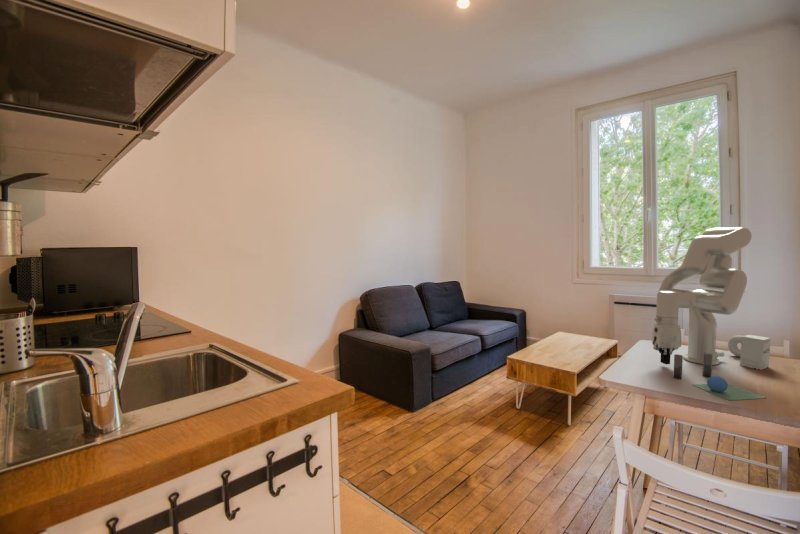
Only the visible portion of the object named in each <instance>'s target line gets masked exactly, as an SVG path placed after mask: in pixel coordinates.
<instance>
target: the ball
mask: <svg viewBox="0 0 800 534" xmlns="http://www.w3.org/2000/svg"><path fill="white" fill-rule="evenodd" d="M727 383H728V382H727V380H726V379H725V378H723V377H722V376H720V375H713V376H712V375H711V377H710V378H707V380H706V384H707V385H708V387H709V388H710V389H711V390H712V391H714V392H724V391H725V390H726V389H727V387H728V384H729V383H728V384H727Z"/></svg>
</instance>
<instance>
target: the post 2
mask: <svg viewBox="0 0 800 534" xmlns="http://www.w3.org/2000/svg"><path fill="white" fill-rule="evenodd" d="M712 367H713V365H712V354H709V353H704V358H703V364H702V377H703V378H707V379H708V378H710V377H711V376H712V369H713V368H712Z"/></svg>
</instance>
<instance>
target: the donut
mask: <svg viewBox="0 0 800 534" xmlns="http://www.w3.org/2000/svg"><path fill="white" fill-rule="evenodd" d="M742 336H743V335H733V336H731V337H730V338H729V340H728V341H727V349H728V350H729V352H730V353H731V354H732V355H734V356H736V357H737V358H740V354H741V348H739V346H738V345H739V344H741V337H742Z"/></svg>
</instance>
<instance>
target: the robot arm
mask: <svg viewBox="0 0 800 534" xmlns="http://www.w3.org/2000/svg"><path fill="white" fill-rule="evenodd" d="M752 236H753V235H752V232H751V230H750V229H749V228H747V227H744V226H733V227H732V226H731V227H727V226H725V227H712V228H709V229H708V228H707V229H706V230H704V231H703V233H702V235H698V236H696V237H694V238H693V239H692V240H691V242H690V244H689V247H688V249H687V251H686V253H685V256H684V259H683V261H682V263H681V265H680V266H679V267H677V268H675V269H674V270H673V271H671V272H670V273H669V274H668V275H666V277H665V278H664V279H663V280H662V282H661V284H660V286H659V289H658V291H657V293H656V308H655V309H656V312H655V313H656V314H655V315H656V317H655V318H654V320H653V321H654V322H655V323H654V326H653V329H652V337H651V338H652V339H651V340H652V341H651V342H652V346H653V347H652V348H653V350H655V351H658V353H659V354H660V363H662V364H664V365H670V364H671V355H673V352H674V351H676V350H679V348H681V347H682V330H681V325H680V323H679V309H688V336H687V339H688V340H687V342H688V343H687V354H683V355H682V356H683V360H685V361H688V362H691V363H694V364H701V365H703V358H704V353H709V354H712V366H714V365H715V366H716V365H719V364H720V363H721V361H720V359H718V357H722V358H723V357H725V356H726V355H725V352H723V351H716V347H717V328H718V327H717V326H718V323H717V319H716V317H715V315H714V314H718V315H719V314H720V315H725V316H729V315H733V314H734V313H736V312H737V310H738V308H739V306H740V304H741V301H742V298H743V295H744V293H745V290H746V287H747V283H748V276H747V274H746V272H745V271H743V270H742V269H738V268H731V265H732V262H733V258H732V256H731V254H734V253H736V252H738V251H739V250H741V249H743V248H745V247H747V246H748V245H749V244H750V243H751V240H752ZM698 276H699V285H700V286H701V287H703V289H702V288H700V289H699V288H698V289H694V290H686V289H679V288H676V287H677V285H678V284H681V282H683V281H685V280H688V279H691V278H694V277H698ZM704 288H706V289H704Z"/></svg>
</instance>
